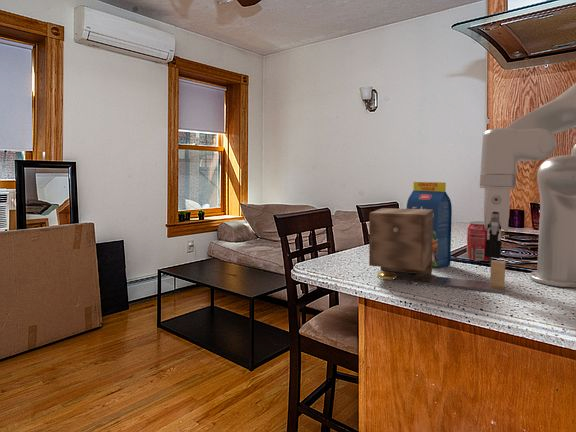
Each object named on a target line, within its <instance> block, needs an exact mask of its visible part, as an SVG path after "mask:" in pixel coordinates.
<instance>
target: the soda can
mask: <svg viewBox="0 0 576 432" xmlns="http://www.w3.org/2000/svg"><path fill="white" fill-rule="evenodd" d="M466 233H467V237H466V258H467V259H469V260H470V259H471V260H477V261H487V262H488V261H489V260H490V261H491V260H492V258H489V257H485V243H486V235H487V230H485V227H484V221H470V222H469V225H468V226H467V231H466ZM471 260H470V261H471Z"/></svg>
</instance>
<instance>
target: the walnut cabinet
mask: <svg viewBox="0 0 576 432" xmlns="http://www.w3.org/2000/svg"><path fill="white" fill-rule="evenodd" d="M368 215H369V218H368V219H369V224H368V225H369V228H368V229H369V230H368V231H369V232H368V233H369V236H368V237H369V243H368V244H369V245H368V247H369V248H368V252H369V253H368V254H369V255H368V256H369V258H368V261H369V263H368V264H369V265H368V266H371V267H380V271H385V270H389V271H388V272H396V271H399V272H398V273H406V272H408V274H417V273H418V274H417V275H427V274H429V275H428V276H432V275H433V274H432V273H433V267H432V240H433V209H407V208H392V207H391V208H389V207H388V208H387V207H386V208H384V207H382V208H379V209H376V210H374V211H370V212H369V214H368ZM431 274H432V275H431Z"/></svg>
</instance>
